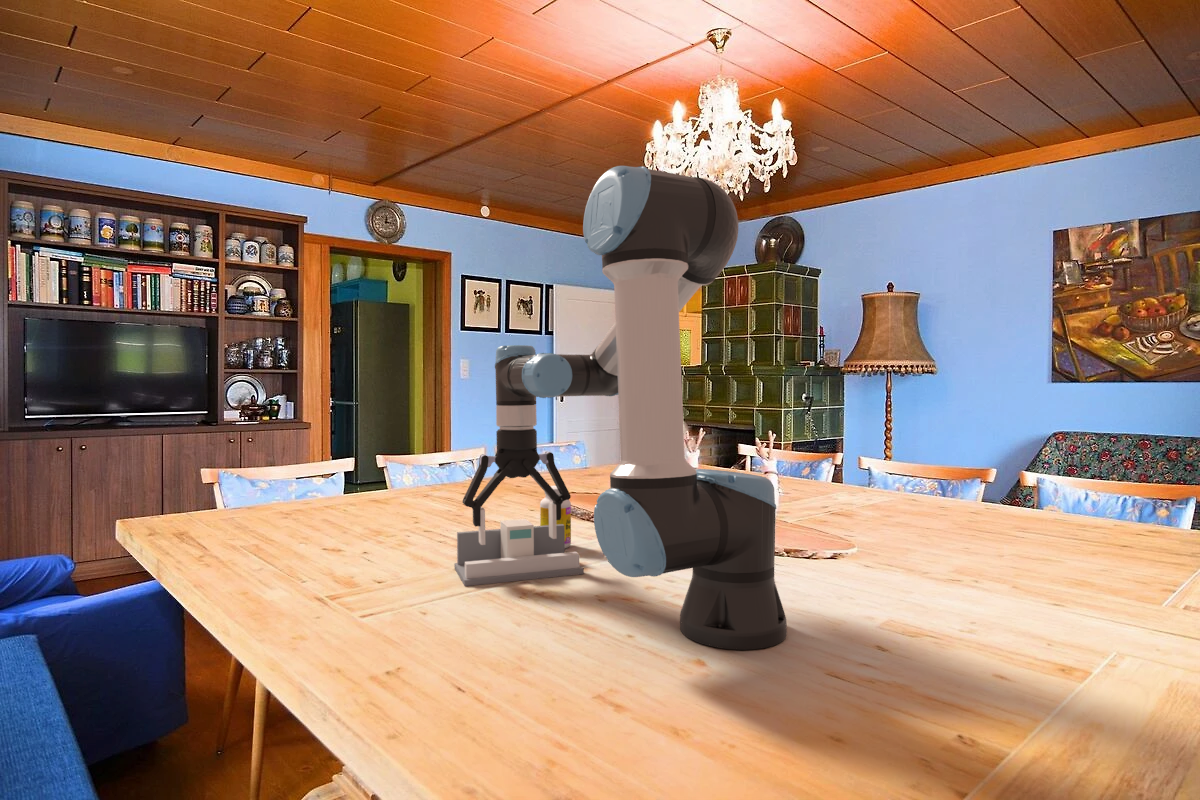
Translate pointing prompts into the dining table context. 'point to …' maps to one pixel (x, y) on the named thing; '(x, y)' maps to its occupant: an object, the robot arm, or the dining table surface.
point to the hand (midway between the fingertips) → (518, 540)
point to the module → (517, 538)
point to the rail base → (495, 553)
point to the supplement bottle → (564, 515)
